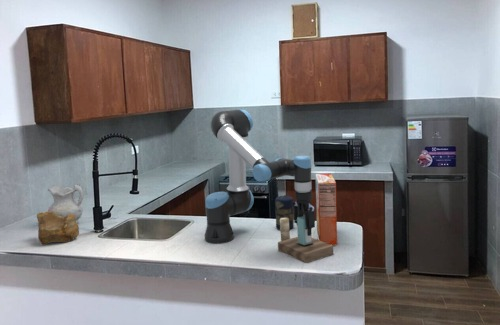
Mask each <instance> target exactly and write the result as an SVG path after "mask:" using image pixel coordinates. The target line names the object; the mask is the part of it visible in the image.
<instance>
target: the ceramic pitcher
mask: <svg viewBox="0 0 500 325" xmlns="http://www.w3.org/2000/svg"><path fill="white" fill-rule="evenodd" d="M47 191H48V192H49V193H50V194H51V196H52V199H53V203H52V204H51V205H50V206H49V207H48V209H47V211H53V212H54V213H55V214H56V215H58V216H61V217H65V216H67V215H68V214H73V215H75V219H76V223H77V224H78V225H79V222H78V220H79V219H80V218H81V217H82V216H83V208H84V207H83V205H82V203H83V199H84V191H83V189H82V187H81V185H80V184H73V188H72V187H69V186H67V187H63V185H61V184H59V185H58V184H53V185H52V186H51V187H49V188H47ZM76 191H77V192H78V193H79V196H78V200H76V199H75V193H76Z"/></svg>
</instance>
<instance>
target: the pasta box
mask: <svg viewBox="0 0 500 325" xmlns="http://www.w3.org/2000/svg"><path fill="white" fill-rule="evenodd" d="M334 178H335V177H333V174H332V173H315V201H316V202H315V205H316V206H315V214H316V233H317V236H318V237H317V238H318V240H319V241H322V242H325V243H327V244H330V245H332V246H334V245H335V246H337V245H338V226H337V225H338V222H337V221H338V218H337V182H336V180H335V179H334Z"/></svg>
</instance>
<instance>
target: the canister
mask: <svg viewBox="0 0 500 325" xmlns="http://www.w3.org/2000/svg"><path fill="white" fill-rule="evenodd" d="M293 202H294V198H293V197H292V196H290V195H287V194H286V195H279V196H277V197H275V201H274V203H275V204H274V206H275V226H276V228H277V229H279V230H280V219H281V218H289V230H290V229H292V228H294V226H295V225H294V224H295V223H294V208H293Z"/></svg>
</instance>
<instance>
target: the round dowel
mask: <svg viewBox="0 0 500 325" xmlns="http://www.w3.org/2000/svg"><path fill="white" fill-rule="evenodd" d="M279 230H280V241H284V240H288V239H291V233H290V229H289V218H281V219H280V229H279Z"/></svg>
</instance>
